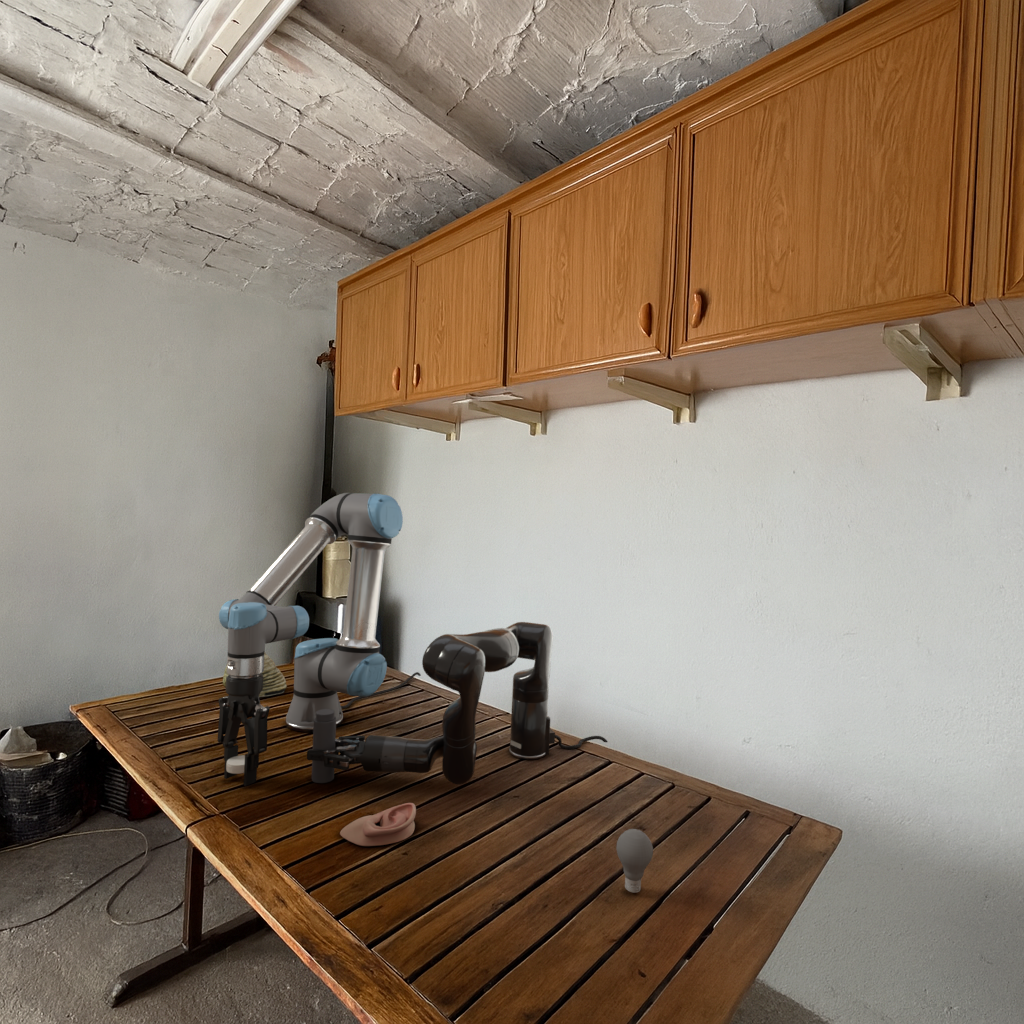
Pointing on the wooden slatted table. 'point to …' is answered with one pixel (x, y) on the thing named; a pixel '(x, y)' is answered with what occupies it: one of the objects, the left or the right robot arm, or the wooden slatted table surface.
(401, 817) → the anatomical model
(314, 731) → the jar
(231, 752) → the left robot arm
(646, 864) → the light bulb
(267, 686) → the fossil
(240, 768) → the lid
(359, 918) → the wooden slatted table surface
